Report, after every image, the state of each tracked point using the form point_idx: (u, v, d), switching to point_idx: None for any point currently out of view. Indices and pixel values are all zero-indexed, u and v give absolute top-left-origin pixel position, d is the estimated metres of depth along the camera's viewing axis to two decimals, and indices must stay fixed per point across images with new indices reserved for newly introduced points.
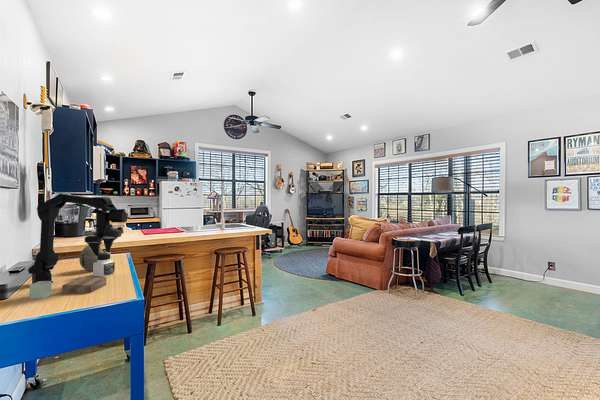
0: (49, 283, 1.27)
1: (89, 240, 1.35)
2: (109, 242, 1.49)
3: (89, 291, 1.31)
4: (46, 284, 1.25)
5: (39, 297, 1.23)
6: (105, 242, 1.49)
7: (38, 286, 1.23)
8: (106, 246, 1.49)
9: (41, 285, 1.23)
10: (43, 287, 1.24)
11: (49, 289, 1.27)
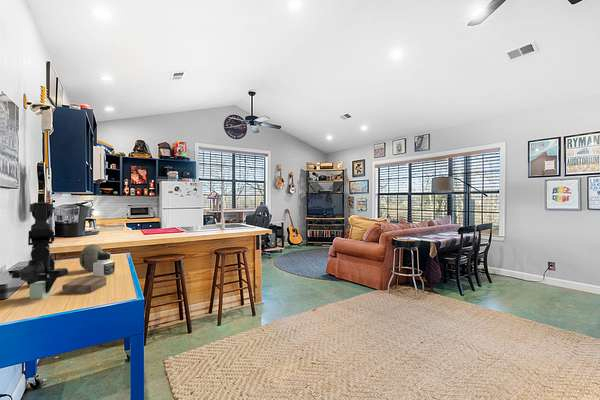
0: None
1: None
2: None
3: (89, 291, 1.31)
4: None
5: (39, 297, 1.23)
6: None
7: (38, 285, 1.23)
8: None
9: (41, 285, 1.23)
10: (43, 287, 1.24)
11: None
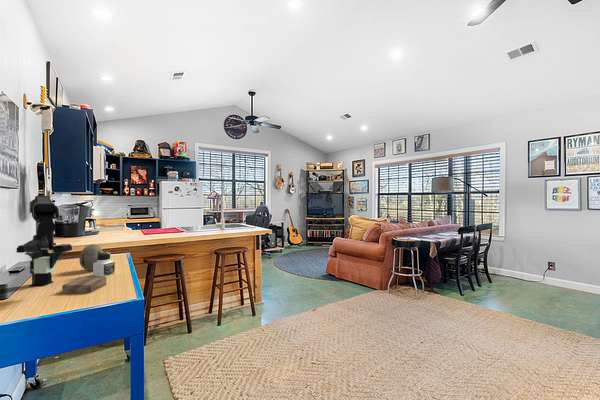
0: None
1: None
2: None
3: (89, 291, 1.31)
4: None
5: (43, 272, 1.24)
6: None
7: (43, 260, 1.24)
8: None
9: (45, 260, 1.24)
10: (47, 262, 1.24)
11: None
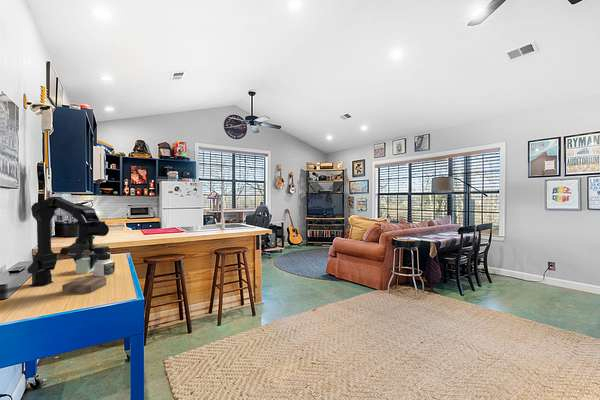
0: None
1: None
2: None
3: (89, 291, 1.31)
4: None
5: (84, 272, 1.34)
6: None
7: (84, 261, 1.34)
8: None
9: (86, 261, 1.34)
10: (88, 263, 1.34)
11: None
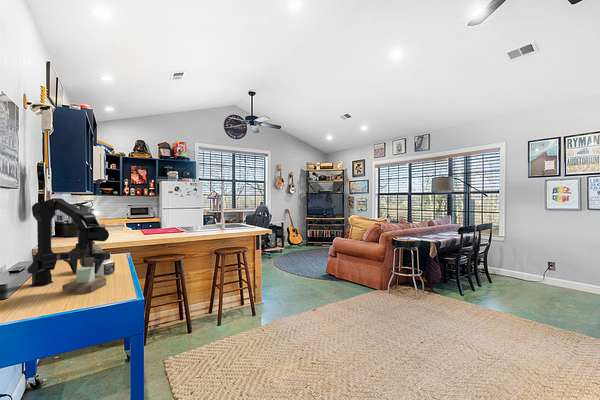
0: (93, 269, 1.38)
1: None
2: None
3: (89, 291, 1.31)
4: (91, 269, 1.36)
5: (85, 281, 1.34)
6: None
7: (84, 270, 1.34)
8: None
9: (87, 270, 1.34)
10: (88, 272, 1.35)
11: (93, 274, 1.38)
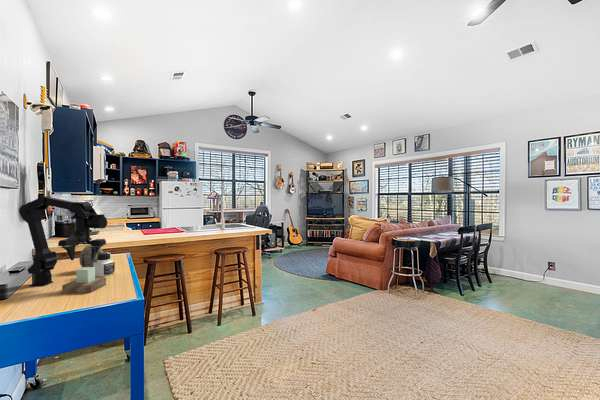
0: (93, 269, 1.38)
1: None
2: None
3: (89, 291, 1.31)
4: (91, 269, 1.36)
5: (85, 281, 1.34)
6: None
7: (84, 271, 1.34)
8: None
9: (87, 270, 1.34)
10: (88, 273, 1.34)
11: (93, 274, 1.38)
